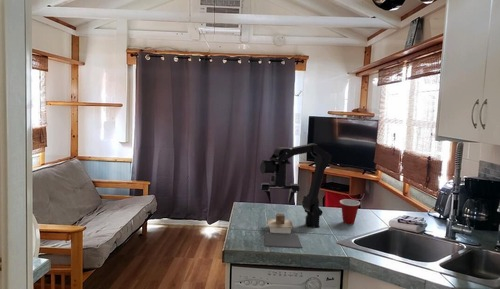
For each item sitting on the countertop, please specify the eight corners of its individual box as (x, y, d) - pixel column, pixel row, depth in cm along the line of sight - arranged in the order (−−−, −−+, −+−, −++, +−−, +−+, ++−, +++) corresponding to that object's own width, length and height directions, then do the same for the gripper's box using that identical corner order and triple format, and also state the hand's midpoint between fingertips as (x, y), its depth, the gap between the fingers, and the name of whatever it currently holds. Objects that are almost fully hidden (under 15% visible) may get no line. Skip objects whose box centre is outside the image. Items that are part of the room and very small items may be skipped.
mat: (297, 235, 175) (297, 234, 175) (302, 248, 159) (302, 247, 159) (264, 234, 175) (264, 233, 175) (265, 246, 159) (265, 245, 159)
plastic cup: (336, 224, 198) (338, 202, 197) (339, 219, 208) (341, 198, 207) (357, 227, 194) (359, 204, 193) (359, 221, 204) (361, 200, 203)
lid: (290, 221, 189) (291, 212, 189) (293, 228, 177) (293, 218, 177) (267, 220, 189) (267, 211, 189) (268, 227, 177) (268, 217, 177)
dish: (288, 227, 188) (288, 221, 188) (290, 233, 178) (291, 227, 178) (269, 226, 188) (269, 220, 188) (270, 232, 178) (270, 226, 178)
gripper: (297, 171, 190) (295, 200, 191) (261, 169, 190) (260, 199, 191) (300, 174, 179) (298, 206, 180) (262, 173, 179) (260, 205, 180)
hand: (279, 204), depth 183 cm, fingers open, 9 cm apart
